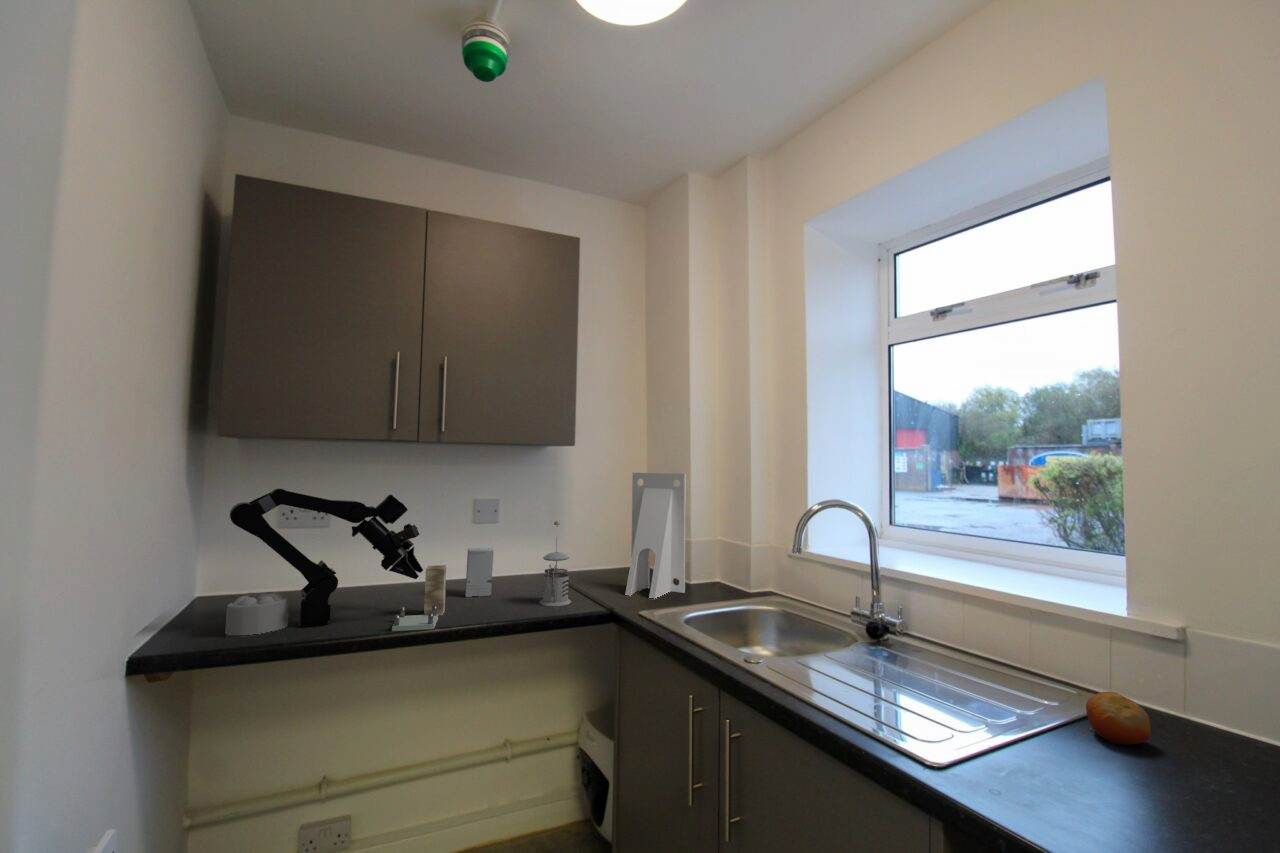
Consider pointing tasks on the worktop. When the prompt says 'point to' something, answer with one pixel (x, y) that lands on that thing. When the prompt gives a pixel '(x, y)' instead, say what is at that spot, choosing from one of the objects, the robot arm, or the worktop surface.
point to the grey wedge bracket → (658, 533)
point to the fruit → (1118, 719)
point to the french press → (555, 581)
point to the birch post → (435, 589)
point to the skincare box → (479, 572)
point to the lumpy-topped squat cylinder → (257, 614)
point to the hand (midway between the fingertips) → (419, 574)
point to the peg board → (415, 621)
